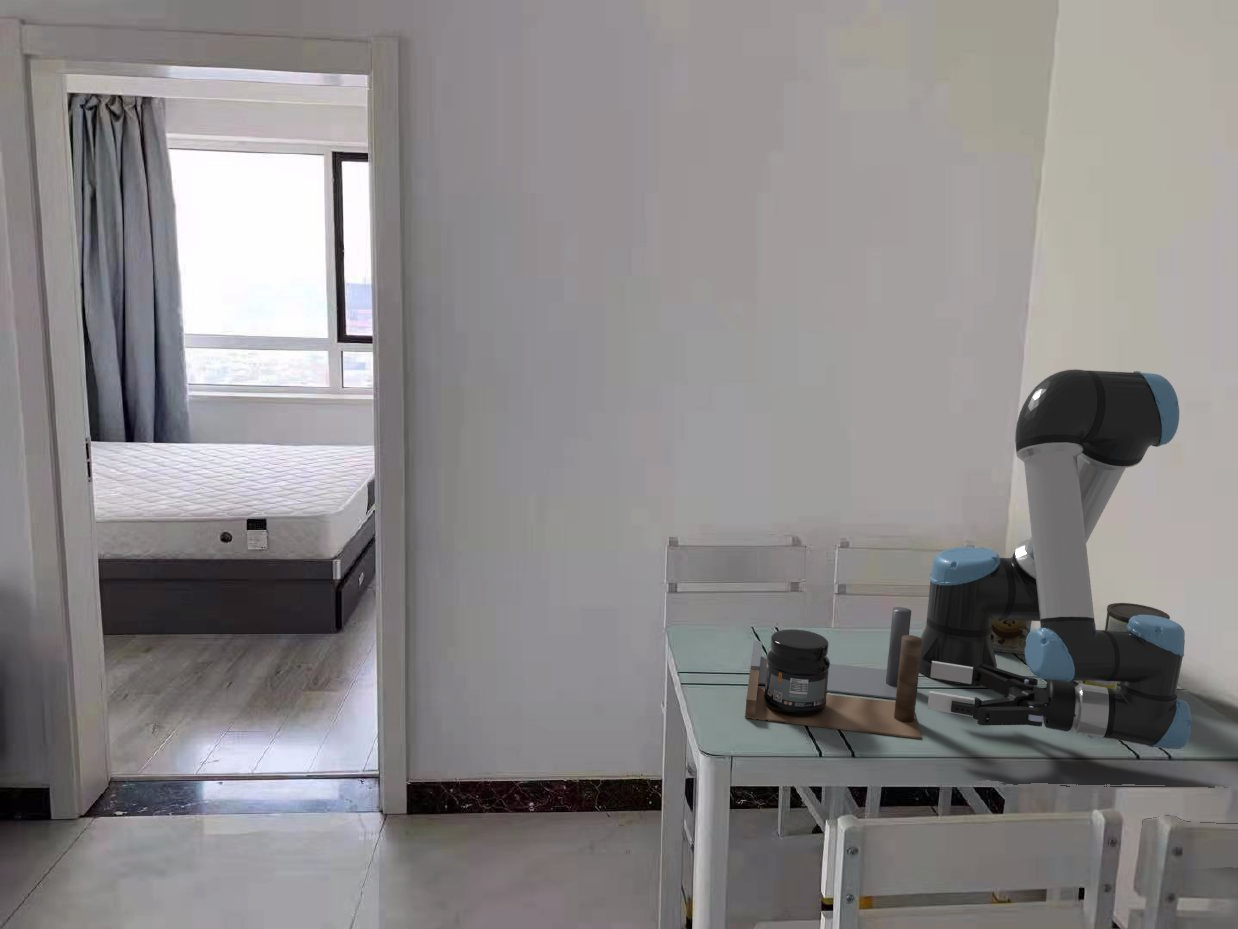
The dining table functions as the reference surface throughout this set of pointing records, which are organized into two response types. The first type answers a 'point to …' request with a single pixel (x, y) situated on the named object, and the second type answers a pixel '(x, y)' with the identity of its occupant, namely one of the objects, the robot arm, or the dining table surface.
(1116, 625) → the coffee can
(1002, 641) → the cookie box
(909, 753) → the dining table surface
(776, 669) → the supplement container
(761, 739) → the dining table surface
